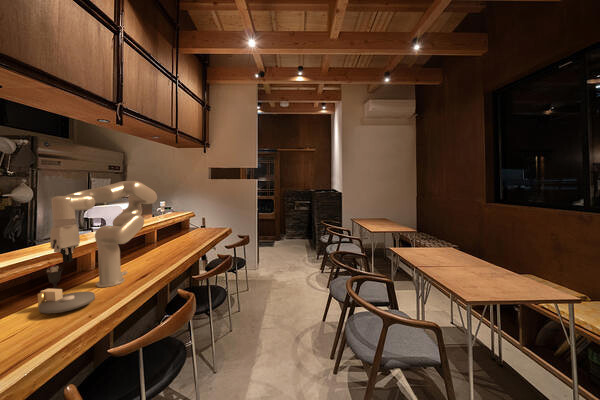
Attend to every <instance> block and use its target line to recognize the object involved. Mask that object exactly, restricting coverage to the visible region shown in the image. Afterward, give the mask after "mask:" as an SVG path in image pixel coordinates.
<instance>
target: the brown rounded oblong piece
mask: <svg viewBox="0 0 600 400" xmlns="http://www.w3.org/2000/svg"><path fill="white" fill-rule="evenodd" d="M45 301H46V300H45V297H44V293H41V292H38V293H37V305H38V311H39V305H40V304H41V303H43V302H45ZM74 310H75V309H73V310H69V311H64V312H63V313H66V312H71V311H74Z"/></svg>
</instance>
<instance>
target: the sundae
mask: <svg viewBox="0 0 600 400" xmlns="http://www.w3.org/2000/svg"><path fill="white" fill-rule="evenodd" d="M47 264H49V266H48V268H47V270H46V271H45V272H44V273H45V274H46V275H47V278H48V282H49V283H50V284H52V285H53V287H52V289H62V290H63V287H58V286H57V285H58V283H59V282H60V281H61V277H62V272H63V271H64V269H63V266H62V265H61V266H59V265H55V264H51V262H50V261H48V262H47Z"/></svg>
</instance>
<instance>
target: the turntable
mask: <svg viewBox="0 0 600 400" xmlns="http://www.w3.org/2000/svg"><path fill="white" fill-rule="evenodd" d="M40 293H44V297H45V302H43V303H41V304H40V305H39V310H38V311H39V312H40V313H41V314H57V313H59V314H60V313H65V312H64V311H67V312H70V311H69V310H71V311H74V310H76V309H78V308H81V307H84V306H86V305H89V304H91V303H93V302H94V301H95V299H96V294H95V293H94V292H93V291H76V292H69V293H65V294H64V293H63V288H62V289H53V288H46V289H44V290H43V289H42V290H40ZM73 309H74V310H73Z"/></svg>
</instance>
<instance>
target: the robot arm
mask: <svg viewBox="0 0 600 400" xmlns="http://www.w3.org/2000/svg"><path fill="white" fill-rule="evenodd" d="M124 197H128V199H127V200H128V206H127V207H126V208H125V209H124V210H123V211H122V212H121V213H119V214H118V215H116V217H115V218H114V219H113V220H112V225H103V226H100V227H99V228H98V229H96V231H95V233H94V238H95V242H96V246H97V254H98V255H97V259H98V278H99V279H98V280H99V281H97V282H96V283H95V286H96V287H97V288H109V287H114V286H118V285H121V284H123V283H124V282H125V278H124V277H123V276H125V275H127V274H128V270H124V271H122V268H121V249H120V246H119V245H125V244H126V243H128V242H129V241H131V240H132V239H133V238H134V237H135V236H136V235H137V234H138V233H139V232H140V231H141V230H142V228H143V227H144V224H145V219H144V217H143V216H142V214H143V209H142V204H143V205H152V204H155V202H156V201H157V200H158V195H157V192H156V191H154V190H153V189H152V188H150V187H149V186H147V185H146V184H144V183H142V182H140V181H137V180H124V181H123V180H122V181H118V182H115V183H112V184H107V185H104V186H100V187H95V188H91V189H86V190H85V189H84V190H80V191H76V192H73V193H68V194H66V195H60V196H59V195H58V196H53V197H52V198H51V210H52V211H51V212H52V222H53V226H52V227H51V229H50V236H49V237H50V240H49V241H50V242H49V244H50V248H51V250H52V249H53V252H54V253H60V255H62V262H63V263H71V262H74V259H73V253H74V252H75V251H74V250H75V249H76V248H78V247H79V244H80V240H81V238H80V231H79V228H78V224H76V222H77V218H76V211H87V210H91V209H92V208H94V207H95V205H96V204H100V203H101V204H103V203H109V202H113V201H115V200H118V199H121V198H124Z"/></svg>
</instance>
